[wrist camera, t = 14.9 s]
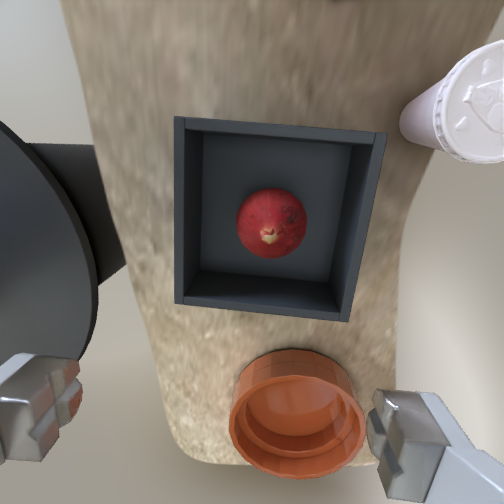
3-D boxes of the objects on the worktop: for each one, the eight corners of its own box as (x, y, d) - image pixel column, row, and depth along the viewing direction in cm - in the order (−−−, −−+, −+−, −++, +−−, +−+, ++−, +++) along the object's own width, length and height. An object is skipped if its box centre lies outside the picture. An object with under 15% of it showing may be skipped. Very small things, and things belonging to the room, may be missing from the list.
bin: (193, 273, 32) (174, 304, 26) (196, 123, 27) (173, 115, 21) (333, 288, 31) (348, 322, 25) (361, 137, 26) (388, 133, 20)
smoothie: (440, 167, 27) (601, 185, 14) (370, 149, 27) (464, 148, 14) (476, 89, 25) (707, 19, 12) (400, 68, 25) (546, -27, 11)
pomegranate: (288, 172, 27) (293, 181, 20) (312, 229, 29) (325, 257, 21) (230, 199, 28) (215, 217, 21) (256, 252, 30) (250, 287, 22)
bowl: (231, 435, 39) (225, 470, 34) (238, 340, 34) (233, 367, 30) (343, 449, 38) (351, 486, 34) (365, 354, 33) (379, 384, 29)
